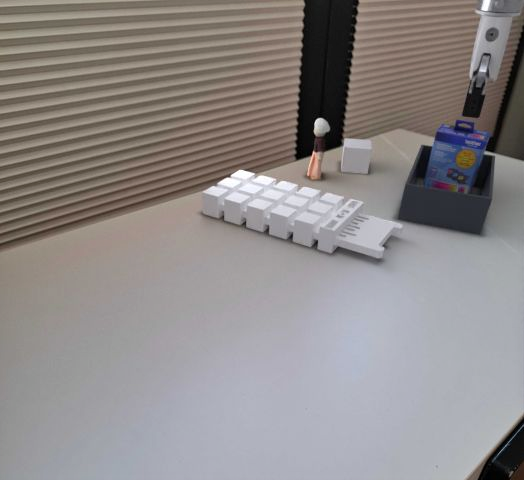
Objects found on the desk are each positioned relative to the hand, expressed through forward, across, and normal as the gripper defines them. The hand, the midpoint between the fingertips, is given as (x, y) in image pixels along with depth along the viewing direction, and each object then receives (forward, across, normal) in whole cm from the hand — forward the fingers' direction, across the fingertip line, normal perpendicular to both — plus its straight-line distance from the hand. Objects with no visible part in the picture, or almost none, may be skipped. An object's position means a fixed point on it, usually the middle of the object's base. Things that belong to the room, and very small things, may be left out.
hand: (471, 109), depth 98 cm
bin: (+17, -8, +1) cm, 18 cm away
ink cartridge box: (+16, 0, +1) cm, 16 cm away
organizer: (+16, -29, +25) cm, 41 cm away
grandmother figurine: (+16, -6, +28) cm, 33 cm away
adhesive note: (+16, +3, +22) cm, 28 cm away
